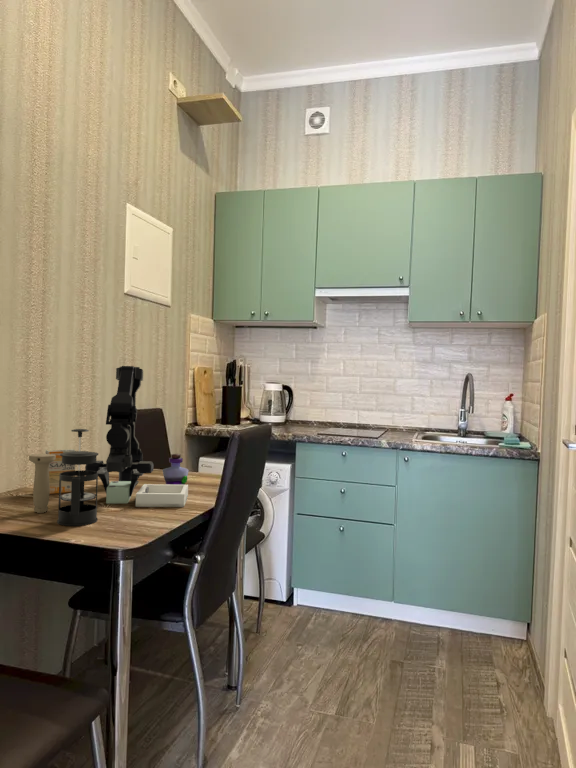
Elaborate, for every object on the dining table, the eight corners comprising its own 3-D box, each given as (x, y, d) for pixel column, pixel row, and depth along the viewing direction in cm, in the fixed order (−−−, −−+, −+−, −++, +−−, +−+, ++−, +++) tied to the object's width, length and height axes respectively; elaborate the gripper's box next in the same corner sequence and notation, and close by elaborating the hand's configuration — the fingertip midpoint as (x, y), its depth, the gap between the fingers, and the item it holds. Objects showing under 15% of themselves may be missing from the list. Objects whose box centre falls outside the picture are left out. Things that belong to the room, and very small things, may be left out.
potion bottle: (184, 494, 173) (185, 456, 173) (157, 493, 174) (158, 455, 174) (191, 489, 182) (192, 452, 182) (165, 488, 182) (166, 451, 182)
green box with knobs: (110, 496, 168) (111, 480, 167) (131, 495, 169) (131, 480, 169) (106, 503, 158) (106, 487, 158) (127, 503, 159) (128, 487, 159)
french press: (60, 516, 141) (63, 427, 141) (99, 515, 144) (101, 427, 144) (53, 528, 130) (55, 431, 130) (95, 527, 132) (97, 431, 132)
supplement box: (46, 494, 167) (47, 451, 167) (43, 491, 171) (45, 449, 171) (75, 492, 171) (76, 450, 171) (71, 489, 175) (73, 448, 175)
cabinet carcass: (143, 495, 169) (143, 484, 169) (187, 496, 170) (188, 484, 170) (135, 506, 155) (135, 493, 155) (183, 506, 156) (184, 494, 156)
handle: (49, 514, 143) (51, 456, 143) (24, 514, 143) (26, 456, 143) (56, 510, 148) (58, 454, 148) (32, 509, 148) (33, 453, 148)
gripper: (80, 446, 154) (79, 501, 154) (148, 447, 156) (147, 502, 156) (90, 441, 165) (89, 493, 165) (154, 442, 167) (152, 494, 167)
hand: (119, 496), depth 163 cm, fingers closed on green box with knobs, 6 cm apart
